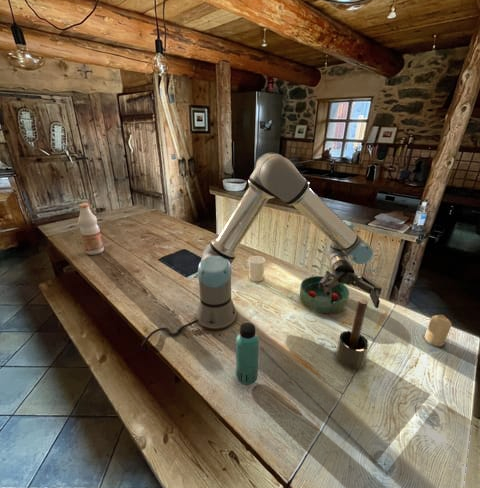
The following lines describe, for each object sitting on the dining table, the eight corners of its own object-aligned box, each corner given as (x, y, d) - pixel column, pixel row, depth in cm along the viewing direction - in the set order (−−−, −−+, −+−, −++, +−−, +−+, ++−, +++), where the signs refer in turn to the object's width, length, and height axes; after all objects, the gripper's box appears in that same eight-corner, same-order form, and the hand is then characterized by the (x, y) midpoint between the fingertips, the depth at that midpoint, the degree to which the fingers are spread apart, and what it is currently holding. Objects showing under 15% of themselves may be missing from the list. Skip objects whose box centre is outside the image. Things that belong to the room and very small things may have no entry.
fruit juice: (82, 253, 151) (69, 205, 140) (96, 246, 159) (85, 201, 148) (94, 256, 148) (82, 207, 137) (107, 249, 156) (97, 203, 144)
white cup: (263, 283, 124) (264, 264, 120) (246, 281, 125) (247, 262, 121) (265, 274, 131) (266, 256, 127) (249, 272, 133) (249, 255, 128)
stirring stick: (350, 362, 82) (364, 304, 73) (344, 357, 84) (356, 300, 75) (355, 359, 84) (369, 301, 75) (348, 354, 85) (361, 297, 77)
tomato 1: (312, 300, 111) (313, 294, 110) (306, 297, 113) (307, 291, 112) (316, 298, 112) (317, 292, 111) (311, 294, 115) (312, 288, 113)
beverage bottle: (256, 369, 81) (258, 317, 72) (259, 390, 74) (261, 335, 66) (235, 370, 80) (235, 318, 72) (235, 390, 74) (235, 336, 66)
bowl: (326, 322, 100) (329, 309, 98) (289, 296, 114) (291, 285, 112) (356, 303, 110) (359, 291, 108) (319, 282, 125) (320, 271, 122)
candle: (425, 332, 95) (433, 310, 91) (444, 339, 92) (453, 316, 88) (423, 341, 91) (431, 318, 87) (442, 349, 88) (452, 325, 84)
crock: (353, 375, 79) (358, 355, 76) (330, 357, 85) (334, 338, 82) (368, 362, 83) (374, 342, 80) (346, 345, 89) (350, 327, 86)
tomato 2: (334, 302, 109) (335, 296, 108) (328, 299, 112) (329, 293, 110) (339, 300, 111) (340, 294, 110) (333, 296, 113) (334, 290, 112)
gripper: (374, 279, 102) (394, 316, 83) (308, 274, 106) (312, 307, 87) (378, 262, 99) (400, 296, 80) (310, 257, 103) (315, 288, 84)
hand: (354, 302), depth 83 cm, fingers open, 13 cm apart
